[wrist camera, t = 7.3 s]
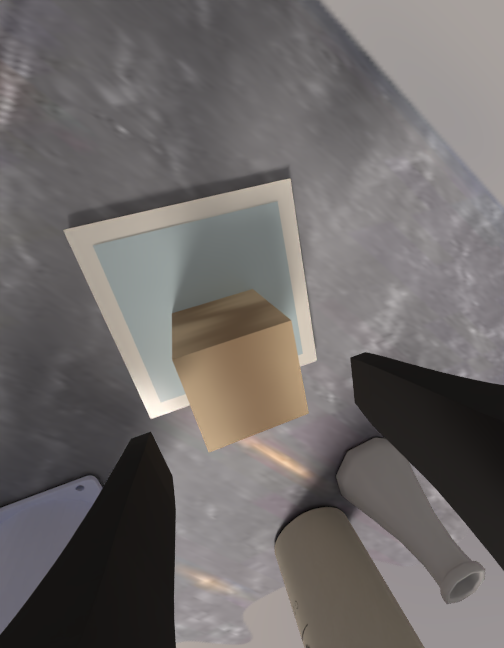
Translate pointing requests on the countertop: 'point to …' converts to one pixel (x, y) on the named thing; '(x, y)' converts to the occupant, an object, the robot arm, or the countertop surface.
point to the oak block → (237, 367)
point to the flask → (406, 514)
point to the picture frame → (191, 275)
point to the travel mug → (338, 586)
